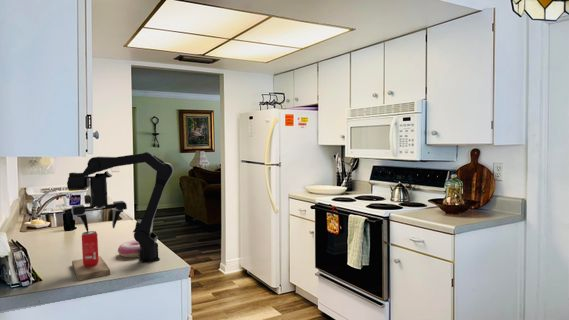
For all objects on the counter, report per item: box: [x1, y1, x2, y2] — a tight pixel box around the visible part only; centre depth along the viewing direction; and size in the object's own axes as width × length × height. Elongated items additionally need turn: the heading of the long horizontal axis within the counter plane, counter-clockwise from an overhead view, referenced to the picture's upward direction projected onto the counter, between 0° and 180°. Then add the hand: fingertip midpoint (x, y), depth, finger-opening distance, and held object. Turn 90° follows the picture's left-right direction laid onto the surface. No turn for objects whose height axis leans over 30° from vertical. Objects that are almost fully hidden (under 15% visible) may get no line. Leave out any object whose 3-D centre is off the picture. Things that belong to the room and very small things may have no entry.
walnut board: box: [71, 255, 111, 281], centre depth 148 cm, size 10×20×2 cm, turn 33°
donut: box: [117, 239, 140, 259], centre depth 167 cm, size 14×13×5 cm
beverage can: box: [81, 230, 99, 267], centre depth 148 cm, size 5×5×12 cm
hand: (100, 229), depth 155 cm, fingers open, 9 cm apart
